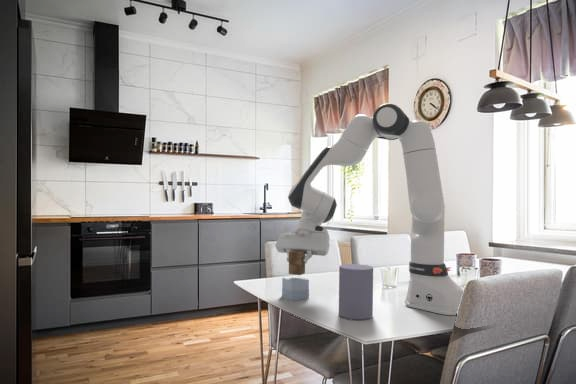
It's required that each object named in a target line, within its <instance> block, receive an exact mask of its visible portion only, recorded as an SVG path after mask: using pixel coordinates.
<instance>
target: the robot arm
mask: <svg viewBox="0 0 576 384" xmlns="http://www.w3.org/2000/svg"><path fill="white" fill-rule="evenodd" d="M375 139H382V140H387V141H388V140H389V141H395V140H399V141H400V144H401V148H402V155H403V162H404V163H403V164H404V168H405V169H404V170H405V175H406V184H407V195H408V202H409V209H410V213H411V233H410V261H409V264H408V272H409V280H408V289H407V292H406V297H405V300H404V303H405V306H406V307H409V308H413V309H417V310H422V311H427V312H432V313H436V314H440V315H444V316H445V315H446V316H457V315H456V314H457V311H458V307H459V304H460V301H461V297H462V294H463V291H464V290H463V289H462V288H461V286H459V285H458V284H457V283H456V282H455V280H453V279H452V278H451V277H450V276H449V273H448V272H450V271H452V270H451V268H452V267H450V266H449V267H447V266H446V263H445V211H446V210H445V208H446V207H445V206H446V205H445V200H444V194H443V187H442V181H441V174H440V168H439V163H438V155H437V149H436V143H435V139H434V136H433V132H432V129H431V127H430V125H429V124H428V123H427V122H426V121H423V120H417V119H416V120H410V118H409V117H408V116H407V114H406V113H404V110H403V109H401V107H399V106H398V105H396V104H394V103H383V104H381V105H380V106H378V107H377V108H376V109H375V110H374V113H373V115H372V116H369V115H366V114H357V115H355V116H354V117H353V118H352V119H351V120H350V121H349V123H348V124H347V126H346V127H345V129H344V131H343V132H342V133H341V136H340V137H339V139H338V141H337V142H335V144H333V145H332V146H326V147H324V149H322V151H321V152H320V153H319V154H318V155H317V157H316V158H315V159H314V160H313V161H312V163H311V164H310V166H309V167H308V168H307V169H306V171H305V172H304V174H303V175H302V176H301V177H300V179H299V180H298V181H296V183H295V184H294V185H293V186H292V187H291V188H290V190H289V193H288V196H287V198H288V201H289V204H290V206H291V207H292V208H296V209H298V210H301V211H302V212H301V217H300V220H299V221H298V222H297V225H296V228H295V230H294V231H288V230H287V231H284V232H282V233H280V235H279V237H278V239H277V240H276V243H275V244H274V246H275V249H276V251H277V253H279V254H280V253H281V254H282V253H283V254H287V258H286V262H288V263H289V252H290V251H294V250H295V251H305V257H303V258H302V263H305V264H308V261H309V260H310V259H311V258H312V257H313V256H320V257H326V255H328V254H329V250H330V240H331V239H330V234H329V231H328V229H327V228H326V227H324V226H322V224H326V223H328V222H329V221H331V220H332V219H333V217H334V215H335V211H336V209H337V206H338V205H337V204H338V203H337V201H336V198H335V197H334V196H332V195H330V194H328V193H326V192H323V191H321V190H320V189H317V188H316V187H313V186H312V185H311V183H312V182H313V181H314V180H315V178H316V177H317V176H318V175H319V173H320V171H321V170H322V169H323V168H324V167H327V166H341V167H351V166H356V165H358V164H359V163H360V162H362V160H363V159H364V157H365V156H366V153H367V152H368V150H369V149H370V146H371V145H372V143H373V141H374V140H375Z"/></svg>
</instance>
